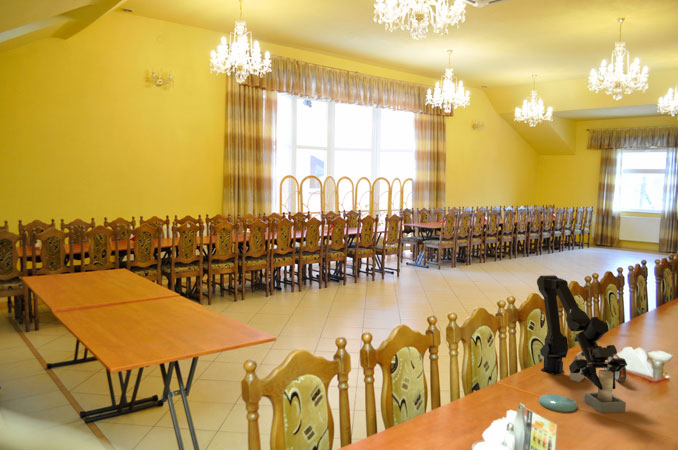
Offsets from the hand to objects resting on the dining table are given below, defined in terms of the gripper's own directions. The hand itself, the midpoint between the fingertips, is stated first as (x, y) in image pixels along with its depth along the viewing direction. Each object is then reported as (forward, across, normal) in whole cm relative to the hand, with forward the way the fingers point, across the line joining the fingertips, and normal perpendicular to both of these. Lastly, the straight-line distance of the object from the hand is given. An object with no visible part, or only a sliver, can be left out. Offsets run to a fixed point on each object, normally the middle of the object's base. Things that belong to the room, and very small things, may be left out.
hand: (607, 389), depth 171 cm
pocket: (+4, 0, +6) cm, 7 cm away
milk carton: (-14, +6, +23) cm, 28 cm away
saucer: (+2, -15, +8) cm, 17 cm away
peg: (+4, 0, +6) cm, 7 cm away
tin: (-14, +22, +23) cm, 35 cm away
